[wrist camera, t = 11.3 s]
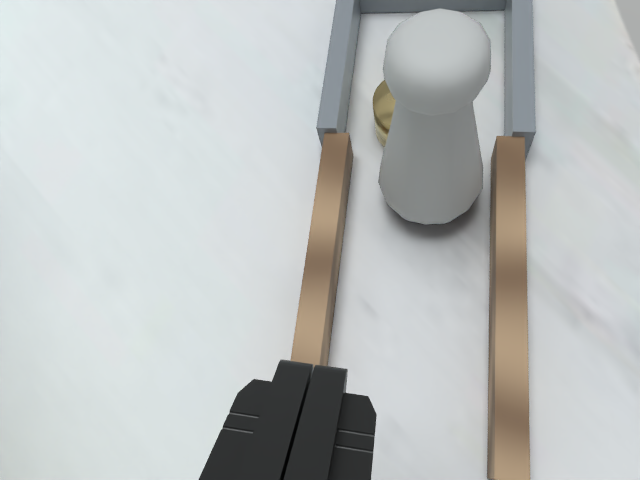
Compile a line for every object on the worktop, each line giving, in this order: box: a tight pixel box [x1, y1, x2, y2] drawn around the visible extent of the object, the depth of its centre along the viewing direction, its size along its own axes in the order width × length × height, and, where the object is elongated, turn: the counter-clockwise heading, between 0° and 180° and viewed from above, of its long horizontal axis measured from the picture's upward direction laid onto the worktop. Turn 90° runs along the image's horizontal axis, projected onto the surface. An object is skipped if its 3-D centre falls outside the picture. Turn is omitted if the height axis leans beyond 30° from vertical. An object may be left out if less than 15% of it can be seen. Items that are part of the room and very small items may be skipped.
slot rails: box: [291, 133, 530, 480], centre depth 29 cm, size 18×12×2 cm, turn 172°
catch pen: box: [316, 0, 536, 160], centre depth 35 cm, size 13×12×3 cm
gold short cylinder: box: [373, 80, 396, 147], centre depth 33 cm, size 4×4×3 cm
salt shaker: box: [378, 8, 491, 225], centre depth 27 cm, size 6×6×13 cm
